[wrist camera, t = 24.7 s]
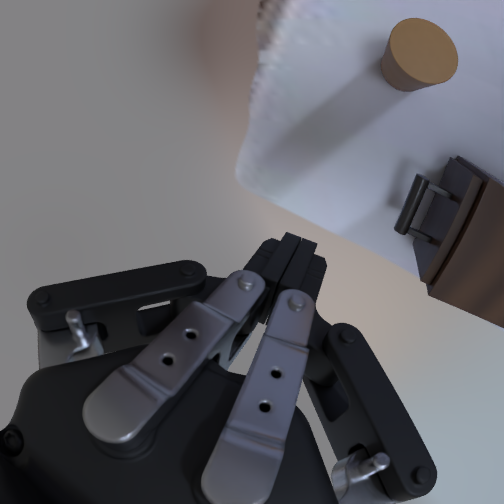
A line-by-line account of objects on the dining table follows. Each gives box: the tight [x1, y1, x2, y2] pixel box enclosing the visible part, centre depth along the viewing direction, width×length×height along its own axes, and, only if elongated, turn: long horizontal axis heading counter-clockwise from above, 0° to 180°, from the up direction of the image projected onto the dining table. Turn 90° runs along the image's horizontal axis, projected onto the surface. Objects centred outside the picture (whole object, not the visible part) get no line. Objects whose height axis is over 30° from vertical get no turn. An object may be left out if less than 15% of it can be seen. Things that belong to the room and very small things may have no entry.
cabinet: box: [426, 156, 504, 328], centre depth 21 cm, size 15×13×10 cm
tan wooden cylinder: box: [381, 18, 458, 92], centre depth 16 cm, size 5×5×12 cm
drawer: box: [394, 157, 484, 285], centre depth 22 cm, size 18×11×8 cm, turn 79°
